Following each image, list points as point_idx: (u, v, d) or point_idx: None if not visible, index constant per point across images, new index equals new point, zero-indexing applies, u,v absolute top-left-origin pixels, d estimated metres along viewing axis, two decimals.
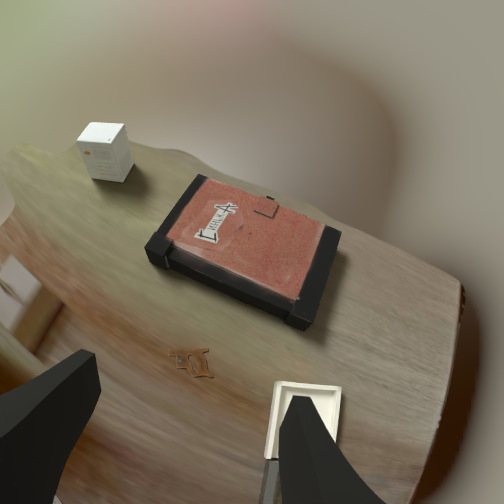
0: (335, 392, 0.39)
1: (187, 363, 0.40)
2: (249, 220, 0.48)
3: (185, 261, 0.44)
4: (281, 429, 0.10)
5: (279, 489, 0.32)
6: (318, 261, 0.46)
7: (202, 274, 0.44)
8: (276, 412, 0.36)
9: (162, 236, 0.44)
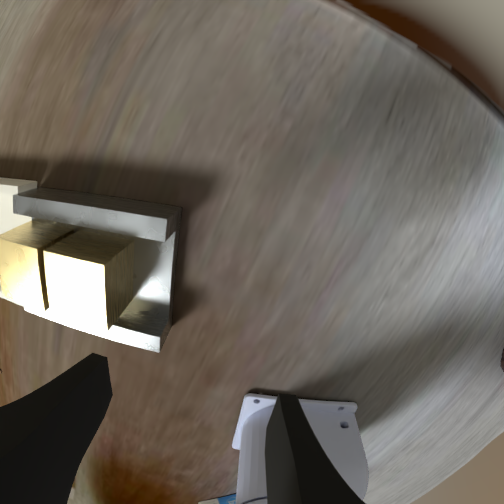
0: None
1: None
2: None
3: None
4: (268, 428, 0.10)
5: None
6: None
7: None
8: None
9: None
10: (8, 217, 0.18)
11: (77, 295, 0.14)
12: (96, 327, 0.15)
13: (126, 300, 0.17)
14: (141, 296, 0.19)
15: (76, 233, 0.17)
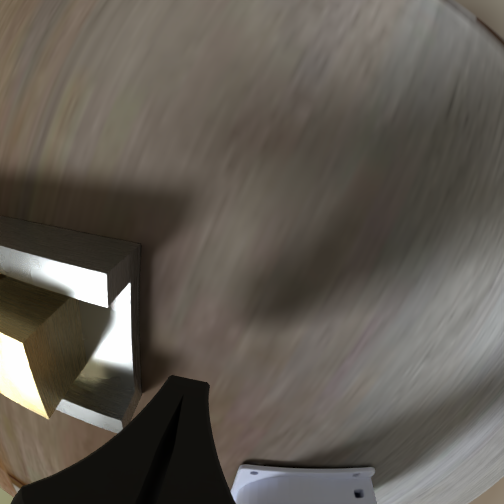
0: None
1: None
2: None
3: None
4: None
5: None
6: None
7: None
8: None
9: None
10: None
11: (4, 371, 0.08)
12: (35, 410, 0.09)
13: (75, 369, 0.11)
14: (97, 361, 0.12)
15: (7, 277, 0.10)
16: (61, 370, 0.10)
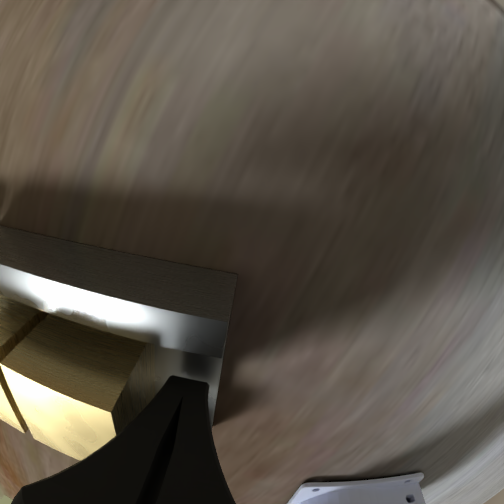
0: None
1: None
2: None
3: None
4: None
5: None
6: None
7: None
8: None
9: None
10: None
11: (70, 434, 0.07)
12: None
13: None
14: None
15: None
16: None
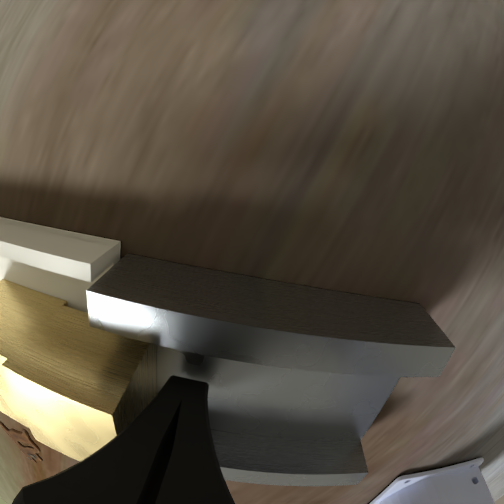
0: None
1: (29, 450, 0.17)
2: None
3: None
4: None
5: None
6: None
7: None
8: None
9: None
10: None
11: (71, 435, 0.07)
12: None
13: None
14: (333, 423, 0.11)
15: (56, 314, 0.09)
16: None
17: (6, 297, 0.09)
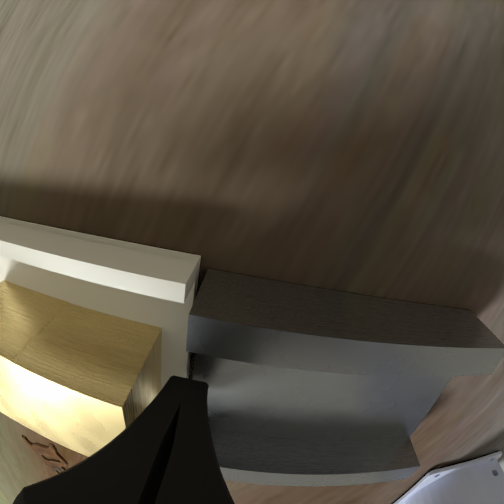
0: None
1: (54, 463, 0.17)
2: None
3: None
4: None
5: None
6: None
7: None
8: None
9: None
10: None
11: (80, 430, 0.07)
12: None
13: None
14: (390, 423, 0.12)
15: (62, 312, 0.10)
16: None
17: (7, 299, 0.09)
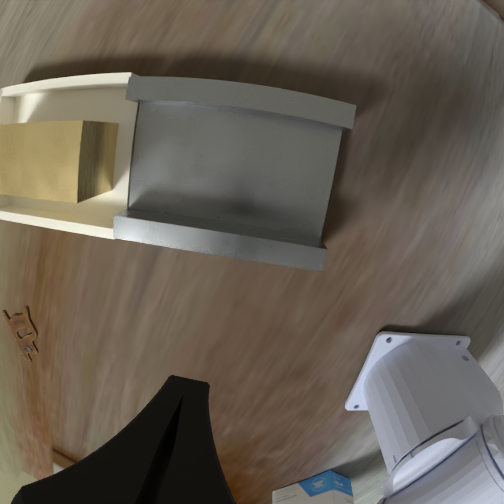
0: (11, 96, 0.14)
1: (26, 340, 0.22)
2: None
3: None
4: None
5: None
6: None
7: None
8: (30, 218, 0.16)
9: None
10: None
11: (51, 163, 0.12)
12: (66, 199, 0.13)
13: (104, 185, 0.15)
14: (291, 208, 0.16)
15: None
16: (96, 172, 0.14)
17: None
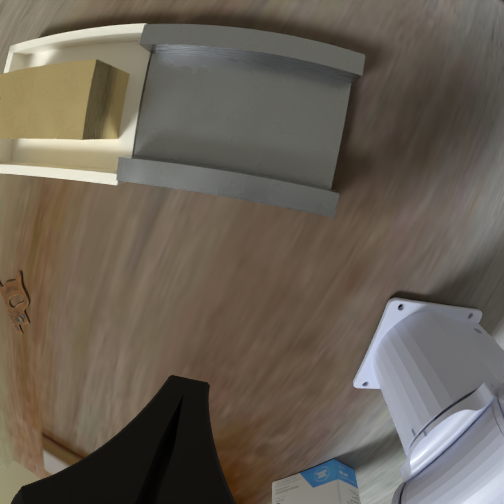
0: (22, 53, 0.13)
1: (18, 309, 0.21)
2: None
3: None
4: None
5: None
6: None
7: None
8: (31, 168, 0.15)
9: None
10: None
11: (60, 102, 0.11)
12: (71, 137, 0.12)
13: (110, 131, 0.15)
14: (301, 156, 0.15)
15: None
16: (104, 114, 0.13)
17: None
